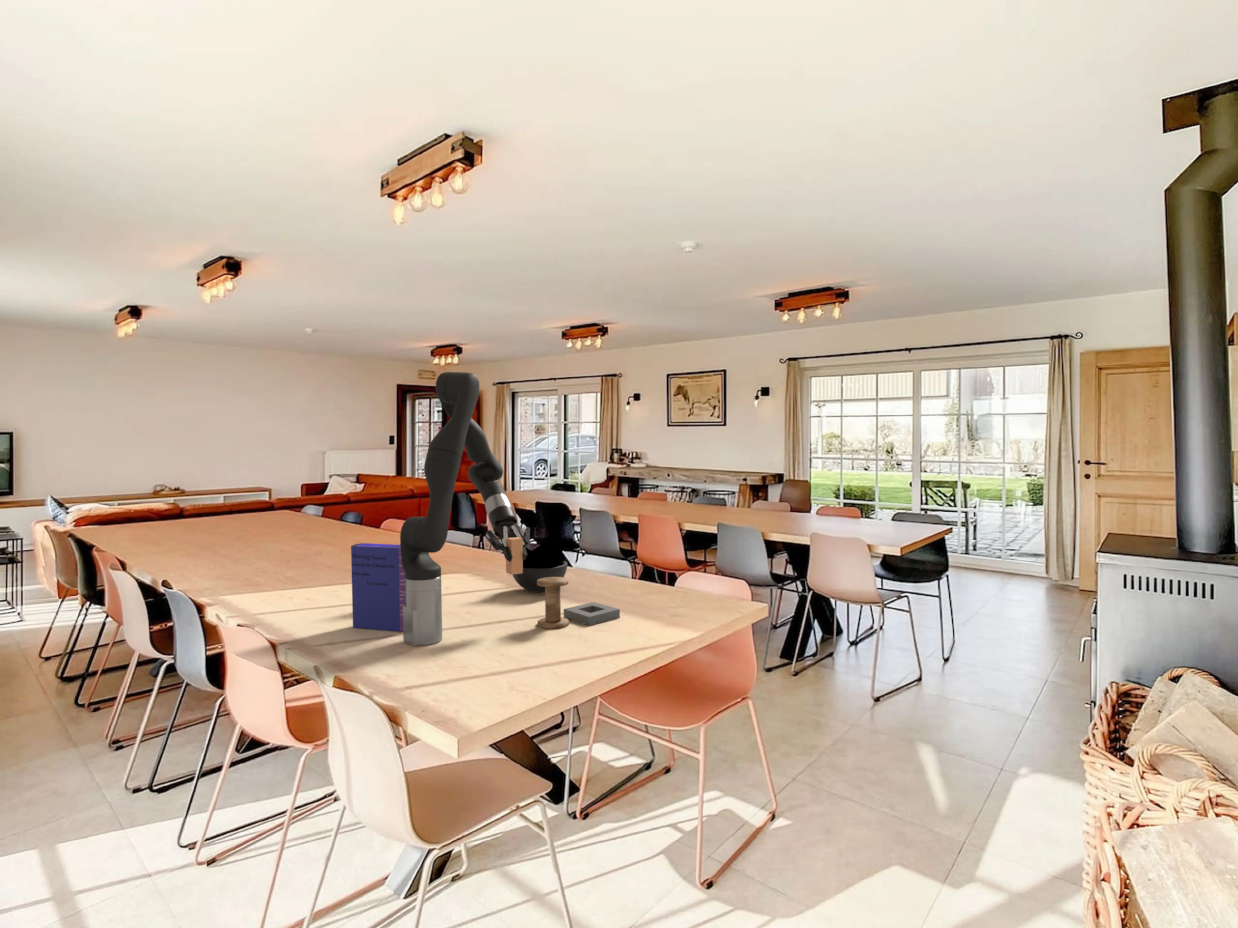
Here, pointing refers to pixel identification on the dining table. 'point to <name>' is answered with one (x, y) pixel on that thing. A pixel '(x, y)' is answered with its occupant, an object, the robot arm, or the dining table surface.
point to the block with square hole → (591, 613)
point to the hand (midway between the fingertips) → (517, 558)
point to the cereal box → (378, 587)
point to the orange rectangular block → (515, 556)
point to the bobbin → (552, 603)
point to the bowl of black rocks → (541, 565)
